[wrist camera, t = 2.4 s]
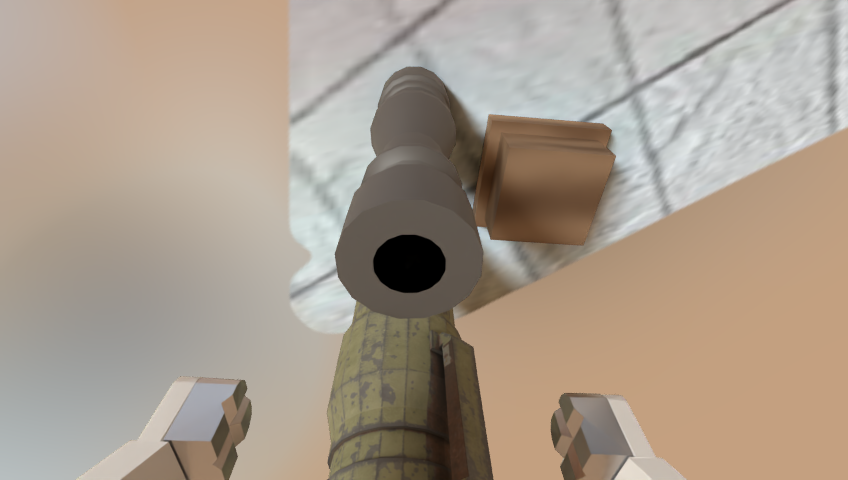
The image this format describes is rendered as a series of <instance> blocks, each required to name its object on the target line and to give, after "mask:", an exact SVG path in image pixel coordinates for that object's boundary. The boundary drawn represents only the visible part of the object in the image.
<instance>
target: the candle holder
mask: <svg viewBox="0 0 848 480" xmlns="http://www.w3.org/2000/svg"><path fill="white" fill-rule="evenodd" d="M370 129H371V142H372V147H373V149H374V152H375V154H376V156H377V157H376V158H375V159H374V160H373V161H372V162H371V163H370V164H369V165H368V167H367V169H366V172H365V175H364V178H363V181H362V184H361V187H360V188H359V189H358V190H357V191H356V192H355V193H354V196H353V199H352V202H351V205H350V207H349V210H348V213H347V216H346V220H345V223H344V226H343V229H342V233H341V236H340V239H339V242H338V245H337V249H336V252H335V259H336V265H337V272H338V278H339V279H340V281H341V282H342V284H343V285H344V286H345V288H346V289H347V291H348V292H349V294H350V295H351V297H352V298H354V299H355V300H357V301H358V302H360V303H361V304H363V305H364V306H366V307H367V308H368V309H370V310H371V311H373V312H376V313H380V314H383V315H387V316H390V317H394V318H398V319H410V318H427V317H430V316H433V315H436V314H440V313H443V312H446V311H449V310H450V309H452V308H453V307H454V306H456V305H457V304H458V303H460V302H461V301H463V300H464V299H465V298H467V297H468V296H469V295H470V293H471V292H472V290H473V288H474V287H475V285H476V283H477V282H478V280H479V278H480V277H481V272H482V261H483V249H482V245H481V241H480V237H479V233H478V229H477V225H476V221H475V217H474V213H473V210H472V207H471V205H470V203H469V200H468V198H467V195H466V193H465V191H464V190H463V189H462V183H461V180H460V178H459V175H458V173H457V170H456V168H455V165H454V164H453V163H452V162H451V161H450V160H449V157H450V155H451V153H452V150H453V148H454V146H455V140H456V126H455V123H454V120H453V118H452V115H451V113H450V102H449V98H448V95H447V92H446V89H445V87H444V84H443V82H442V81H441V80H440V79H439V78H438V77H437V76H436V75H435V74H434V72H431V71H429V70H427V69H425V68H422V67H406V68H403V69H401V70H399V71H397V72H395V73H394V74H393V75H392V76H391V77H390V78H389V79H388V80H387V82H386V83H385V85H384V88H383V91H382V94H381V97H380V100H379V103H378V109H377V111H376V114H375V116H374V119H373V122H372V125H371V128H370Z"/></svg>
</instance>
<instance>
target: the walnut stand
mask: <svg viewBox="0 0 848 480" xmlns="http://www.w3.org/2000/svg"><path fill="white" fill-rule="evenodd" d="M611 131H612V130H611V129H610V128H608V127H607V126H606V125H604V124H600V123H588V122H576V121H564V120H552V119H540V118H527V117H515V116H503V115H491V114H489V116H488V122H487V128H486V134H485V140H484V146H483V151H482V157H481V163H480V169H479V175H478V181H477V187H476V192H475V198H474V204H473V213H474V217H475V221H476V225H477V226H479V227H487V229H488V232H489V236H490V239H491V240H506V241H521V242H537V243H552V244H568V245H584V242H585V240H586V237H587V234H588V231H589V229H590V226H591V223H592V220H593V218H594V215H595V212H596V210H597V207H598V204H599V201H600V199H601V196H602V193H603V190H604V188H605V185H606V182H607V179H608V177H609V174H610V171H611V168H612V166H613V163H614V160H615V157H616V155H614V154H613V153H612V152H611V151H610V150H609V149H607V148H606V146H607V143H608V140H609V137H610V134H611Z"/></svg>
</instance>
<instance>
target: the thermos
mask: <svg viewBox="0 0 848 480" xmlns="http://www.w3.org/2000/svg"><path fill="white" fill-rule="evenodd" d="M327 417H328V423H329V431H330V439H331V447H330V452H329V457H328V465H329V469H330V473H329V478H328V480H493V474H492V467H491V461H490V454H489V448H488V442H487V435H486V428H485V422H484V415H483V410H482V402H481V396H480V389H479V383H478V377H477V369H476V363H475V356H474V348H473V347H472V346H470V345H469V344H467V343H466V342H464V341H462V340H461V337H460V335H459V333H458V331H457V330H456V328H455V324H454V315H453V308H452V309H450V310H449V311H446V312H443V313H440V314H436V315H433V316H430V317H427V318H410V319H398V318H394V317H390V316H387V315H383V314H380V313H376V312H373V311H371V310H370V309H368V308H367V307H366V306H364V305H363V304H361V303H360V302H358V301H356V306H355V312H354V317H353V322H352V325H351V326H350V327H349V329H348V330H347V331H346V333H345V334H344V336H343V340H342V345H341V349H340V353H339V358H338V362H337V368H336V372H335V376H334V381H333V386H332V391H331V395H330V400H329V404H328V409H327Z"/></svg>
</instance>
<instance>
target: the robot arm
mask: <svg viewBox="0 0 848 480" xmlns="http://www.w3.org/2000/svg"><path fill="white" fill-rule="evenodd" d="M246 391H247V386H246V382H245V380H234V379H217V378H203V377H181V376H180V377H179V378H178V379H177V380H176V381H175V382H173V384H172V385H171V387H170V389H169V390H168V392H167V393H166V395H165V397H164V398H163V400H162V402H161V403H160V405H159V406H158V408H157V409H156V411H155V412H154V414H153V416H152V417H151V419H150V420H149V422H148V424H147V425H146V427H145V428H144V430H143V432H142V433H141V435H140V436H139V438H138V440H130V441H129V442H127V443H126V444H124V445H123V446H122V447H120V448H119V449H118V450H116V451H115V452H113V453H112V454H111V455H109V456H108V457H107V458H105V459H104V460H102V461H101V462H99V463H98V464H97V465H95V466H94V467H93V468H91V469H90V470H88V471H87V472H86V473H84V474H83V475H82V476H80V477H79V478H77V479H76V480H229V478H230V475H231V473H232V470H233V467H234V465H235V462H236V460H237V457H238V456H237V452H236V449H235V447H236V446H237V445H238V444H239V443H240V442H241V441H242V440H244V439H245V436H246V434H247V431H248V428H249V425H250V420H251V415H252V412H251V411H252V410H251V409H252V408H251V407H252V406H251V402H250V399H248V398H247V397H246V396H245V393H246ZM559 404H560V407H561V408H559V409H558V410H556V411H555V412H554V414H553V416H552V419H551V435H552V440H553V444H554V448H555V450H556V451H557V452H558V453H559V454H560V455H561V456H562V457H563V461H562V464H561V466H560V467H561V471H562V474H563V477H564V480H687V479H686V478H684V477H683V476H682V475H681V474H680V473H679V472H678V471H676V470H675V469H674V468H673V467H672V466H671V465H670V464H668V463H667V462H666V461H665V460H664V459H663V458H657V457H656V456H655V454H654V452H653V450H652V449H651V447H650V445H649V443H648V441H647V439H646V437H645V435H644V433H643V431H642V429H641V427H640V425H639V423H638V422H637V420H636V418H635V416H634V414H633V412H632V410H631V408H630V406H629V404H628V402H627V400H626V399H625V398H624V397H623V396H621V395H601V394H585V393H584V394H583V393H564V394H563V395H561V397H560V400H559Z"/></svg>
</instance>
